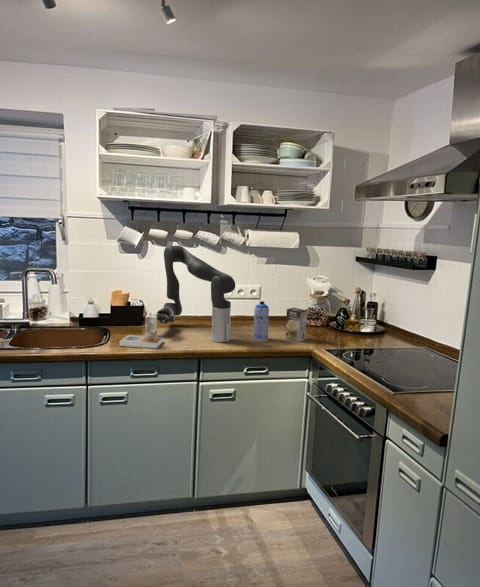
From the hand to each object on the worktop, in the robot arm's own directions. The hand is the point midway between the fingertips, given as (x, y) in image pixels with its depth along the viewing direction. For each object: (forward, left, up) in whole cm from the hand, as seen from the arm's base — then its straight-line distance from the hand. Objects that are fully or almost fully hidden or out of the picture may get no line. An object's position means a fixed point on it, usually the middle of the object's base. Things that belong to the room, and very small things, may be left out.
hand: (156, 321), depth 231 cm
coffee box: (-69, -17, -10) cm, 72 cm away
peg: (0, +9, -9) cm, 13 cm away
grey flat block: (+5, +10, -9) cm, 14 cm away
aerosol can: (-51, -13, -10) cm, 54 cm away
